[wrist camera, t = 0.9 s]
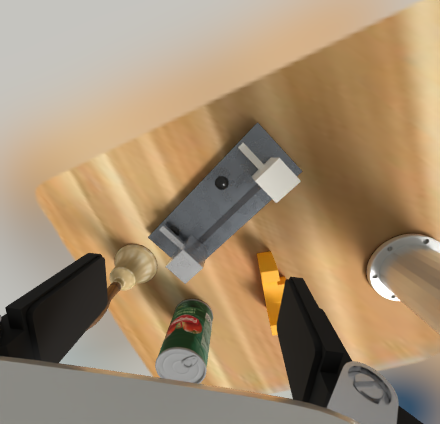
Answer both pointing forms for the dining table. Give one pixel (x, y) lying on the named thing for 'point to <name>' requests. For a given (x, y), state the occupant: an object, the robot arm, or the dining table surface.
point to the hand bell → (129, 271)
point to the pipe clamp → (271, 287)
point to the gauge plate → (217, 206)
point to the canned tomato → (186, 343)
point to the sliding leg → (272, 175)
